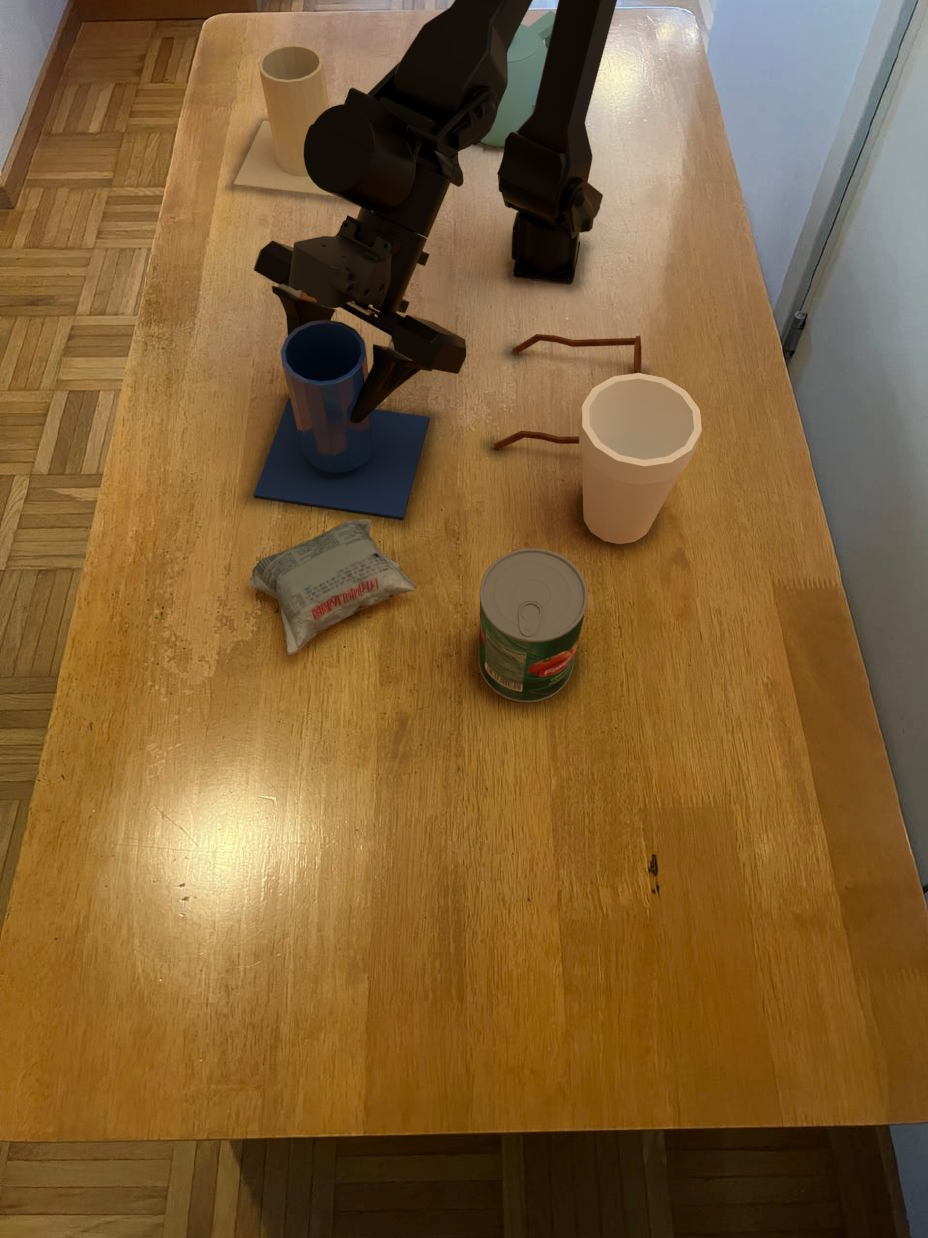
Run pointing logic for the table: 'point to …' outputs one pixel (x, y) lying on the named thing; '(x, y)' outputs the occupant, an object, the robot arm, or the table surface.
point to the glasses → (571, 343)
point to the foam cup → (633, 452)
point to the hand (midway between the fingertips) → (322, 402)
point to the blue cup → (328, 394)
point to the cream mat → (271, 168)
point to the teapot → (521, 78)
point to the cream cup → (293, 100)
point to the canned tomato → (530, 623)
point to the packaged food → (328, 580)
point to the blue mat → (359, 490)
